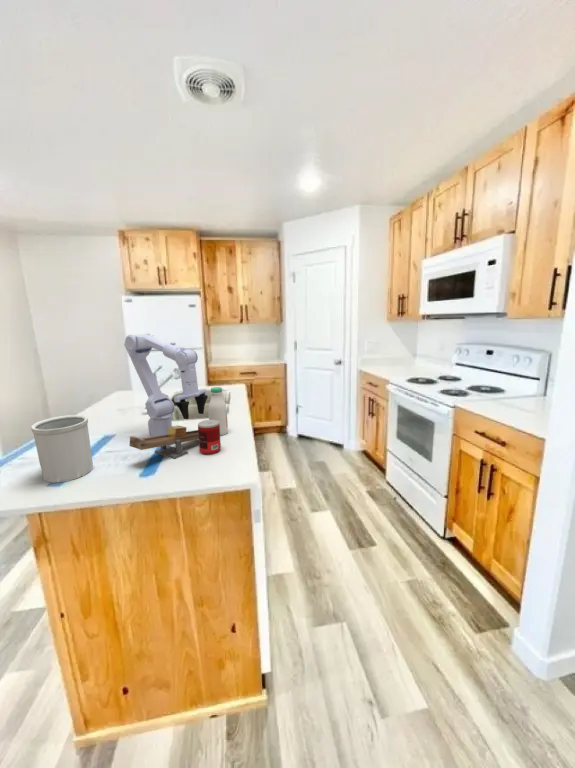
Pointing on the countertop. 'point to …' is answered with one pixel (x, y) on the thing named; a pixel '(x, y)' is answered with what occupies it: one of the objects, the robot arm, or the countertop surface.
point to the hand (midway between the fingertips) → (193, 416)
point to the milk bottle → (218, 409)
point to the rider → (176, 431)
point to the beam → (161, 440)
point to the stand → (172, 450)
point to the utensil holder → (63, 447)
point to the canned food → (209, 436)
